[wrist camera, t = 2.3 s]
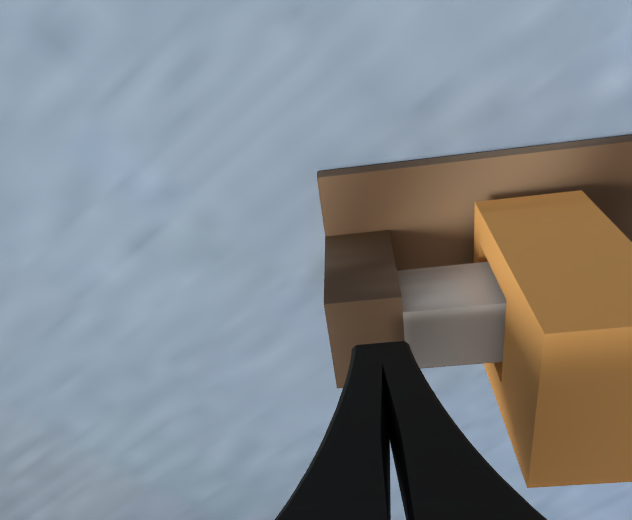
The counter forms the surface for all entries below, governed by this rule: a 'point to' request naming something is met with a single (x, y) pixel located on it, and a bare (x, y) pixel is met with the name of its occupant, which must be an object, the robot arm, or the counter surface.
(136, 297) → the counter surface
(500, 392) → the orange slider block
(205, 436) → the counter surface
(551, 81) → the counter surface
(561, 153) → the wooden slider rail
